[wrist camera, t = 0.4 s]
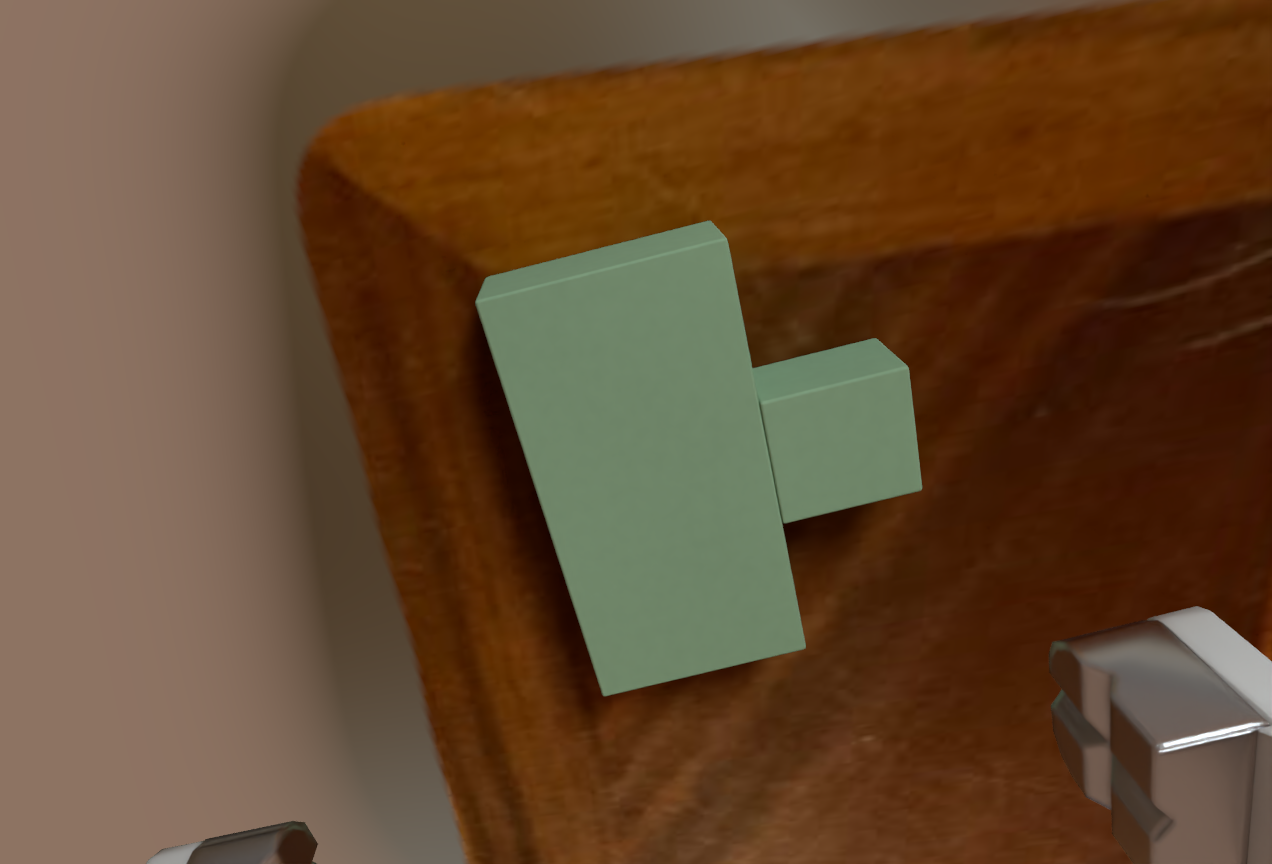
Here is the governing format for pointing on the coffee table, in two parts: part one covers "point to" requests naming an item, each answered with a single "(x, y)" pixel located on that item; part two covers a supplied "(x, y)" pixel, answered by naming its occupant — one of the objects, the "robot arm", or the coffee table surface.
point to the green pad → (683, 449)
